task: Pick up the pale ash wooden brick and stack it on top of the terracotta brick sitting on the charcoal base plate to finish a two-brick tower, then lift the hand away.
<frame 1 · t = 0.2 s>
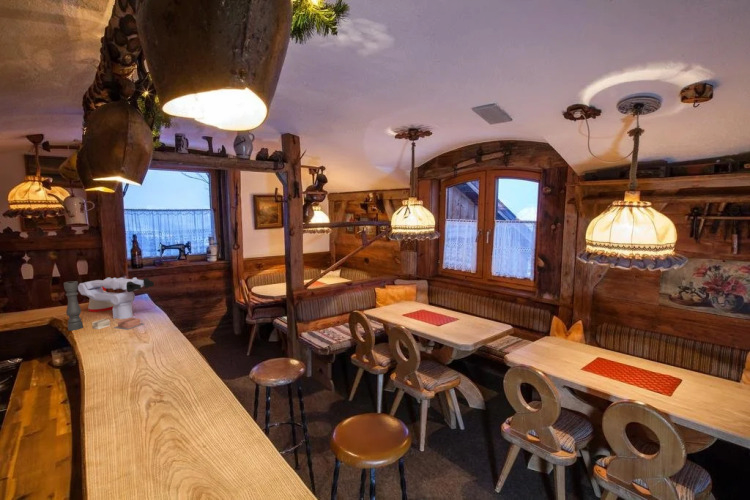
hand: (146, 285, 203), 21 cm above the bar counter, tool horizontal, fingers open, 7 cm apart
base plate: (129, 328, 197), on the bar counter
white and red dome: (102, 309, 235), on the bar counter
terracotta brick: (129, 325, 196), point 1 cm above the bar counter, touching base plate
ash brick: (101, 330, 195), on the bar counter
candle holder: (75, 329, 197), on the bar counter
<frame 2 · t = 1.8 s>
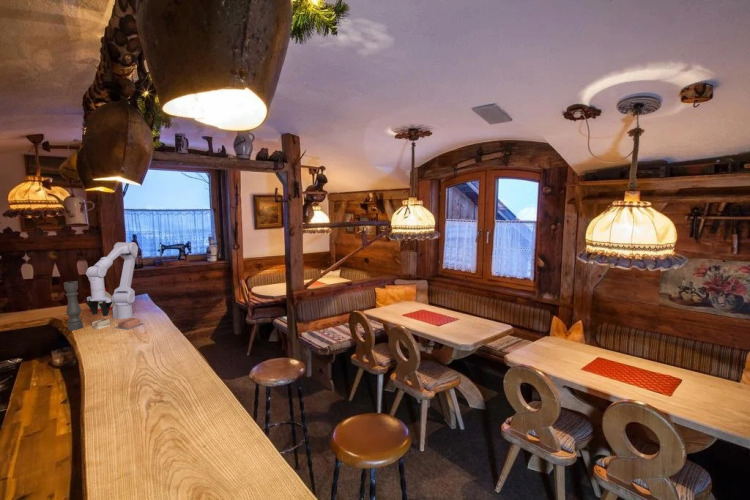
hand: (100, 315, 194), 8 cm above the bar counter, tool pointing down, fingers open, 7 cm apart
nothing on the bar counter moved.
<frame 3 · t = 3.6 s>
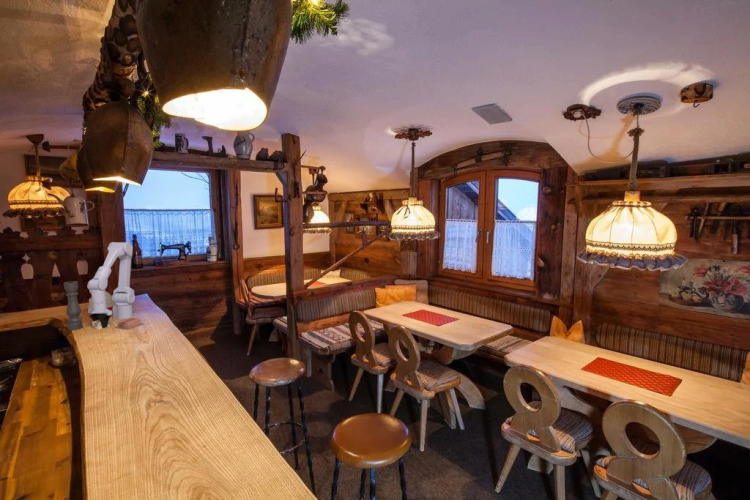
hand: (101, 327, 195), 1 cm above the bar counter, tool pointing down, fingers closed on ash brick, 4 cm apart
ash brick: (101, 329, 195), on the bar counter, touching gripper
everything else where it was.
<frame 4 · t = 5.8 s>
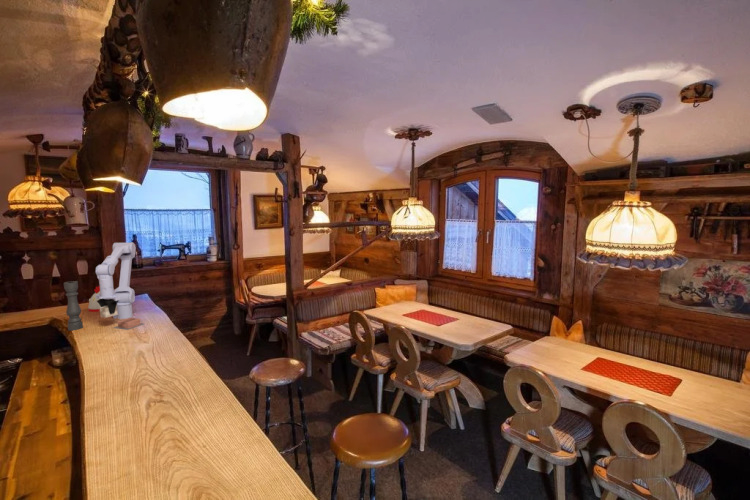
hand: (109, 312, 194), 9 cm above the bar counter, tool pointing down, fingers closed on ash brick, 4 cm apart
ash brick: (109, 315, 194), point 7 cm above the bar counter, touching gripper
everything else where it was.
when the fingers open (7 cm above the bar counter, at t = 8.0 s): ash brick stays where it is, resting on terracotta brick.
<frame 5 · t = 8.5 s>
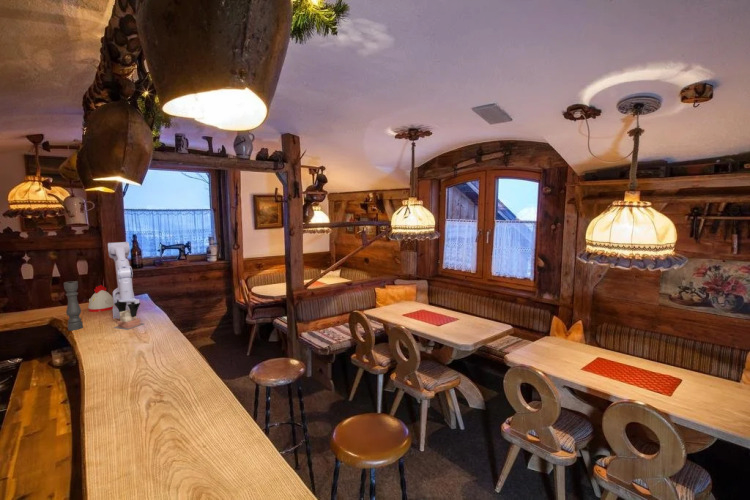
hand: (128, 315, 196), 7 cm above the bar counter, tool pointing down, fingers open, 7 cm apart
terracotta brick: (129, 325, 196), point 1 cm above the bar counter, touching ash brick, base plate
ash brick: (128, 320, 196), point 4 cm above the bar counter, touching terracotta brick
everything else where it was.
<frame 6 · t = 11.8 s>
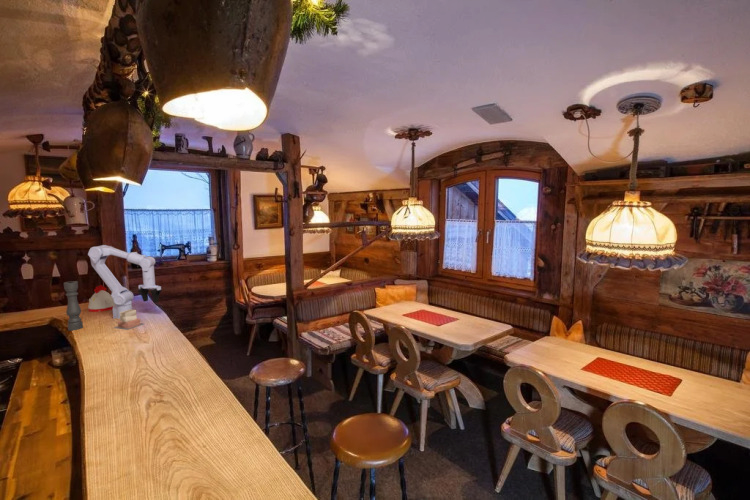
hand: (150, 301, 213), 10 cm above the bar counter, tool pointing down, fingers open, 7 cm apart
nothing on the bar counter moved.
at the end: ash brick 0.1 cm off-centre on the terracotta brick, point 3.0 cm above the terracotta brick's base; ash brick tilted 0°; terracotta brick moved 0.0 cm from its start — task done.
